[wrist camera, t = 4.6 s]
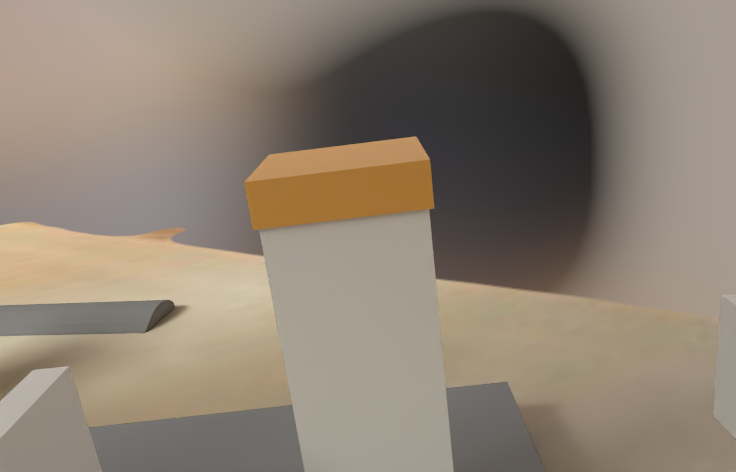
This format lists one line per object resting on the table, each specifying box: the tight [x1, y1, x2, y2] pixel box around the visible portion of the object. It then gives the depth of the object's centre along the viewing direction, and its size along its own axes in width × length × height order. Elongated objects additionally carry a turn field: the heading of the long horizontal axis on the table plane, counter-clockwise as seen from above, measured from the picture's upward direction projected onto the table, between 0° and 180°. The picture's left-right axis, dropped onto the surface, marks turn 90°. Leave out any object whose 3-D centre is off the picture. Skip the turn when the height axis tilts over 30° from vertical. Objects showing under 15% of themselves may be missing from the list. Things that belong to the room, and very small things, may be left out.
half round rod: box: [0, 300, 175, 336], centre depth 42 cm, size 4×20×2 cm, turn 79°
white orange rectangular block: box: [244, 137, 454, 472], centre depth 15 cm, size 4×4×11 cm
